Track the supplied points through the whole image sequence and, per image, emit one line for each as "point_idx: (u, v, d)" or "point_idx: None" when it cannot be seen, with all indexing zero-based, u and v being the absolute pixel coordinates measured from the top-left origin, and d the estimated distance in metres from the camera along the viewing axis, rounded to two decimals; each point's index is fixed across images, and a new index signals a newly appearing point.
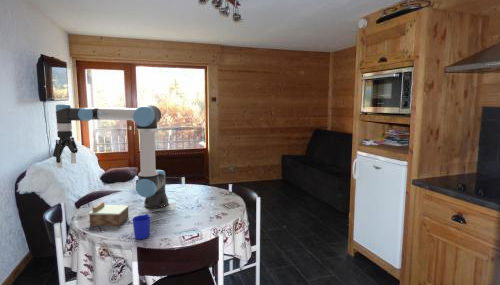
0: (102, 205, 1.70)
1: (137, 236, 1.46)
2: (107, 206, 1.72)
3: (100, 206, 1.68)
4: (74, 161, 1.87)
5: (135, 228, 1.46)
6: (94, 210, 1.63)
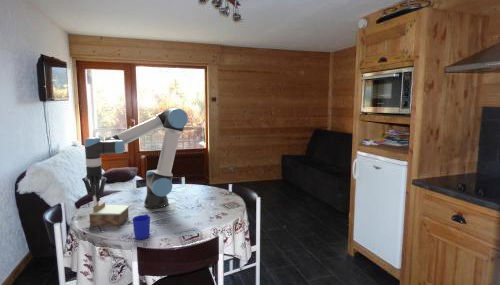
0: (103, 205, 1.70)
1: (137, 236, 1.46)
2: (107, 206, 1.72)
3: (101, 206, 1.68)
4: None
5: (135, 228, 1.46)
6: (95, 210, 1.63)
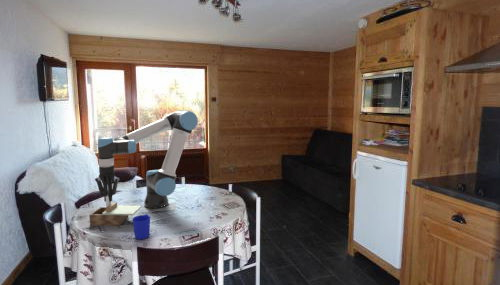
0: (115, 205, 1.70)
1: (137, 236, 1.46)
2: (120, 206, 1.72)
3: (113, 206, 1.68)
4: None
5: (135, 228, 1.46)
6: (108, 210, 1.63)
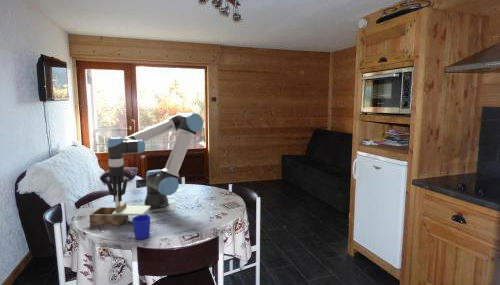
0: (124, 205, 1.70)
1: (137, 236, 1.46)
2: (129, 206, 1.72)
3: (123, 206, 1.68)
4: None
5: (135, 228, 1.46)
6: (117, 210, 1.63)
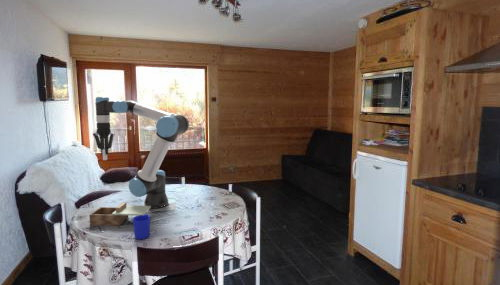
0: (124, 205, 1.70)
1: (137, 236, 1.46)
2: (129, 206, 1.72)
3: (123, 206, 1.68)
4: None
5: (135, 228, 1.46)
6: (117, 210, 1.63)
